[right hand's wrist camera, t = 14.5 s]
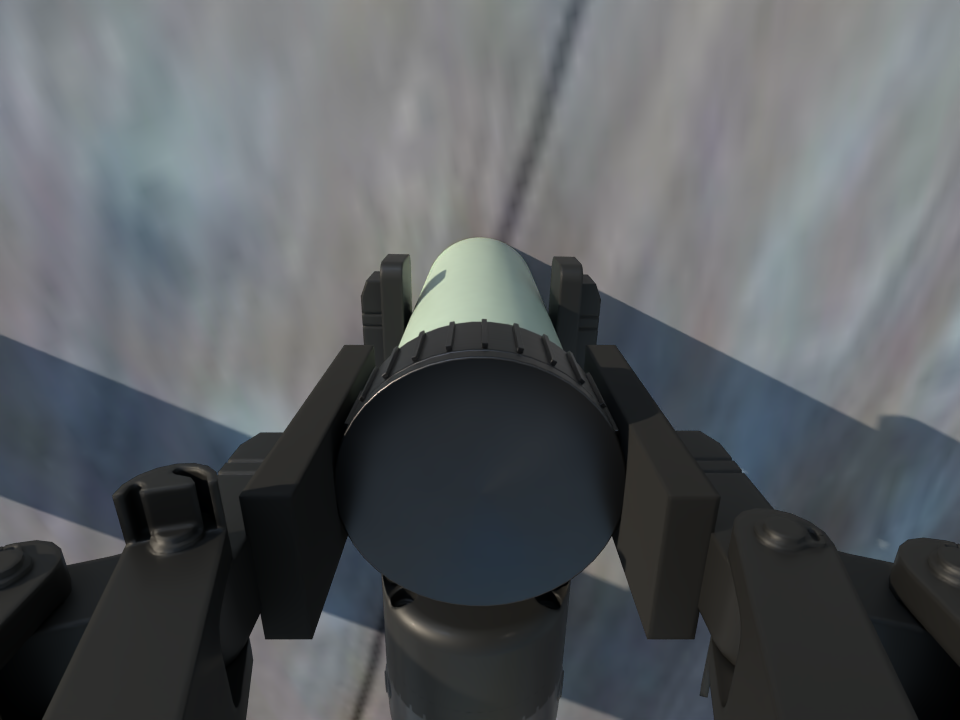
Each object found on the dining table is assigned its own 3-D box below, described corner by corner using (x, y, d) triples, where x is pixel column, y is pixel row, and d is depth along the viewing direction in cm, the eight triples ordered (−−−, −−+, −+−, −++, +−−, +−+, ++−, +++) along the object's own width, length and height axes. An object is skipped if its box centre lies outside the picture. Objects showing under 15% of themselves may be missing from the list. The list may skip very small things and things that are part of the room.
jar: (546, 324, 25) (631, 545, 11) (447, 354, 26) (407, 603, 12) (515, 222, 24) (569, 328, 9) (410, 257, 24) (312, 408, 10)
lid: (631, 506, 13) (659, 570, 11) (407, 566, 13) (394, 637, 11) (570, 281, 11) (590, 310, 9) (311, 364, 11) (277, 407, 10)
